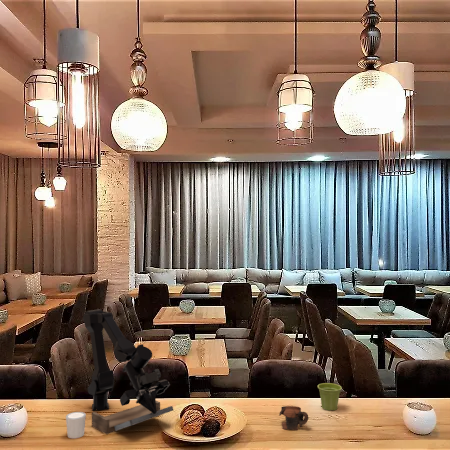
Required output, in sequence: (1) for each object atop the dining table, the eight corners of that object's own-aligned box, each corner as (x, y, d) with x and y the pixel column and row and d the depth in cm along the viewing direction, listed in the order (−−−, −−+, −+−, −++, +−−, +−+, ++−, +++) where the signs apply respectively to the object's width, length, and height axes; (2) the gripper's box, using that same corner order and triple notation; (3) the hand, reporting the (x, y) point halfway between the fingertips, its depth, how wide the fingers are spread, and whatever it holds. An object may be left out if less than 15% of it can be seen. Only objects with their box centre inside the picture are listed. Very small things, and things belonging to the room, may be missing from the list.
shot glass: (80, 439, 171) (80, 419, 171) (61, 438, 172) (61, 418, 172) (89, 431, 178) (89, 412, 177) (71, 430, 179) (71, 410, 179)
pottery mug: (274, 429, 180) (274, 405, 184) (287, 433, 187) (287, 410, 191) (303, 428, 174) (303, 403, 178) (315, 432, 180) (315, 408, 184)
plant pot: (323, 402, 206) (323, 381, 206) (345, 407, 200) (345, 385, 200) (313, 409, 198) (313, 387, 198) (335, 414, 192) (335, 392, 192)
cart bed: (91, 426, 182) (91, 412, 182) (144, 408, 199) (144, 396, 199) (106, 434, 175) (106, 420, 175) (160, 415, 192) (160, 402, 192)
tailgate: (114, 426, 177) (131, 419, 170) (154, 412, 190) (172, 405, 182) (115, 431, 177) (132, 424, 169) (155, 416, 189) (173, 410, 182)
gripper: (124, 368, 172) (143, 408, 164) (166, 357, 185) (185, 394, 177) (111, 385, 177) (129, 425, 170) (153, 374, 191) (172, 410, 183)
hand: (155, 413), depth 175 cm, fingers closed
